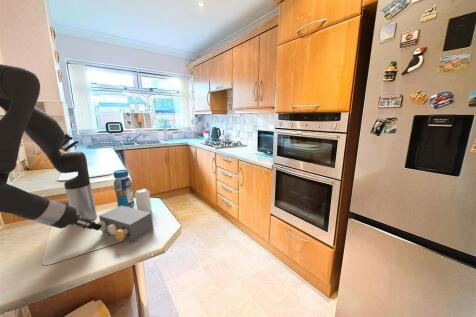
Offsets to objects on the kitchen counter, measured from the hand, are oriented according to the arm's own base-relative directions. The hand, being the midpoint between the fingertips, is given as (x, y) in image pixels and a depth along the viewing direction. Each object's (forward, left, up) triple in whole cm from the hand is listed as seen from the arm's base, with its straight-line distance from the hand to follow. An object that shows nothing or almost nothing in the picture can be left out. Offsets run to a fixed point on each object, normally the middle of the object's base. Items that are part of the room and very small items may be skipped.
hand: (99, 227), depth 79 cm
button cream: (+7, +3, -2) cm, 7 cm away
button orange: (+13, +1, -2) cm, 13 cm away
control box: (+7, +7, -4) cm, 11 cm away
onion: (-37, +6, -5) cm, 38 cm away
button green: (0, +3, -2) cm, 4 cm away
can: (-1, +22, -5) cm, 23 cm away
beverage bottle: (-18, +24, -5) cm, 31 cm away
